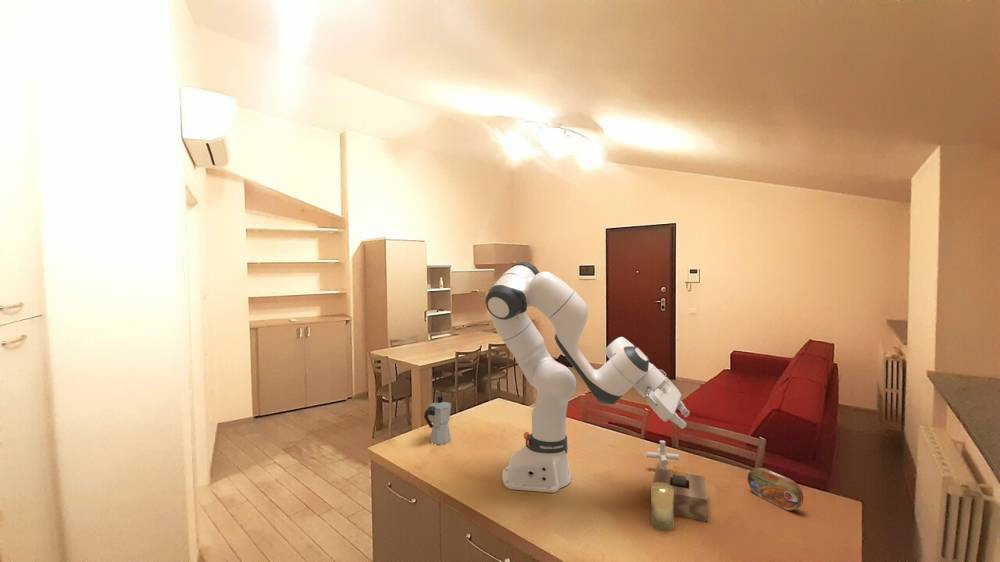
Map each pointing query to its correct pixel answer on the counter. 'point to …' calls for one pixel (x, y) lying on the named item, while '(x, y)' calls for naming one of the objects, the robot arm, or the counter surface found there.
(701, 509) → the bore block
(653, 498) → the yellow candle
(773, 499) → the tin
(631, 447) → the counter surface
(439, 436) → the coffee maker
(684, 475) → the square bit
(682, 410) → the robot arm
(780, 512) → the counter surface
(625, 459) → the counter surface
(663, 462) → the pipe connector
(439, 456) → the counter surface
